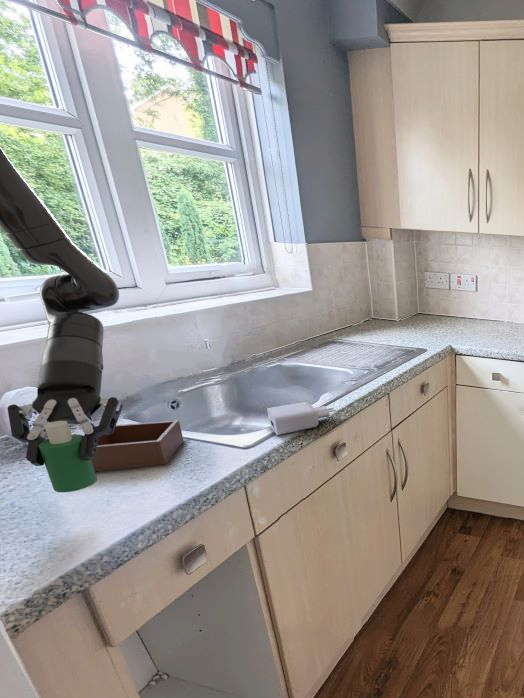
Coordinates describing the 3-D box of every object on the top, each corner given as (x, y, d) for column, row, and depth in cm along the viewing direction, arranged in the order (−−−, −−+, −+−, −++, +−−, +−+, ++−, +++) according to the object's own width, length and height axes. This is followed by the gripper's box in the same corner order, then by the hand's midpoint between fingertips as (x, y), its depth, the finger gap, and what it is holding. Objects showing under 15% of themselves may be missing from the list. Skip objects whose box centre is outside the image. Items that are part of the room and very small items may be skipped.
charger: (341, 423, 118) (277, 436, 109) (330, 412, 125) (269, 424, 116) (339, 406, 117) (274, 418, 107) (328, 396, 123) (266, 407, 114)
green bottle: (46, 494, 72) (23, 431, 68) (64, 478, 77) (44, 419, 73) (87, 490, 74) (67, 428, 70) (103, 474, 78) (85, 416, 75)
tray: (82, 472, 90) (74, 449, 88) (110, 447, 100) (103, 425, 98) (165, 464, 94) (159, 441, 93) (183, 441, 105) (178, 420, 103)
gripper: (0, 360, 72) (-18, 461, 66) (116, 355, 78) (109, 447, 72) (28, 382, 78) (14, 476, 72) (133, 376, 84) (128, 462, 78)
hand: (61, 461), depth 72 cm, fingers closed on green bottle, 5 cm apart
